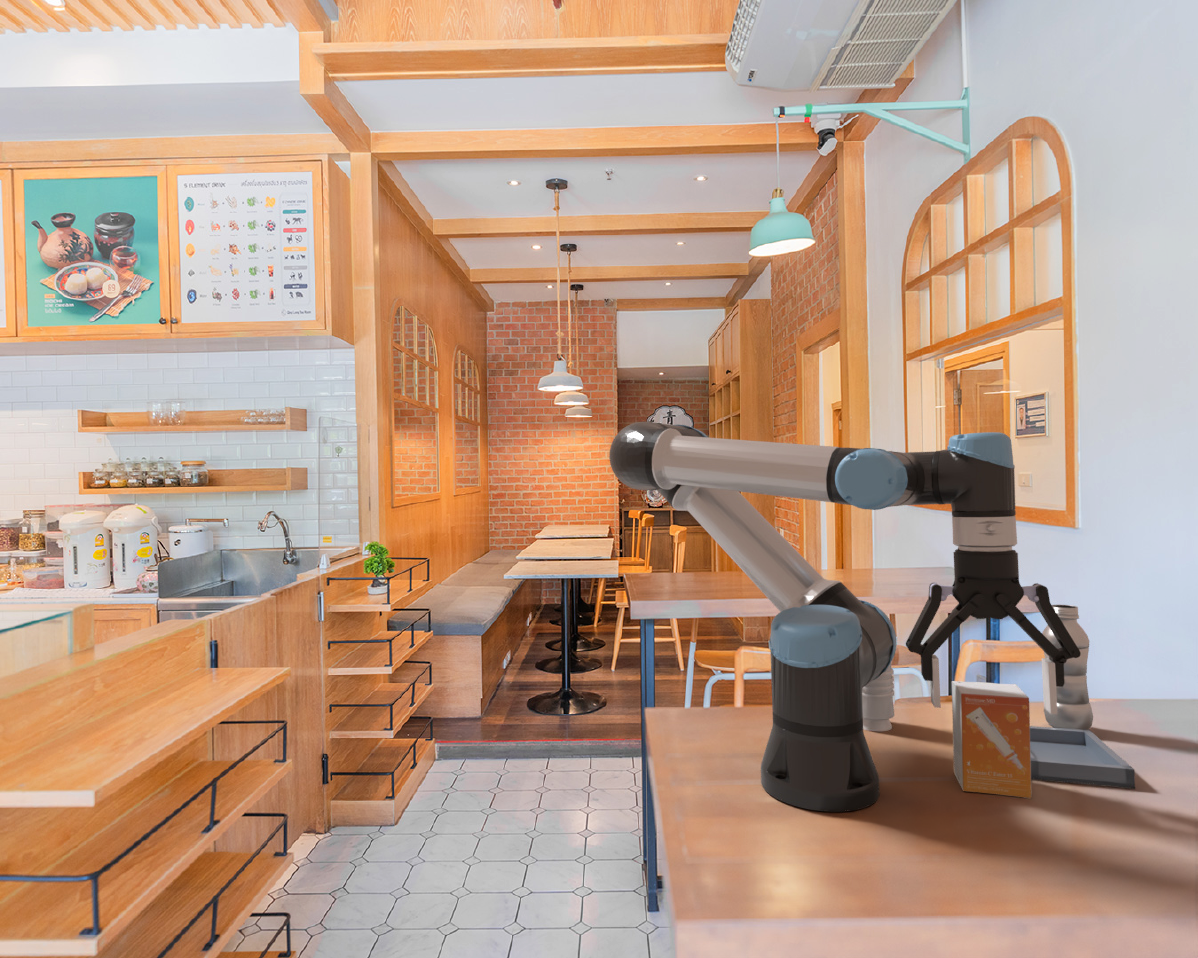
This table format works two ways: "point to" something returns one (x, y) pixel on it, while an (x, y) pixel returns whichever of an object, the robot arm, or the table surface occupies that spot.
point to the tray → (1076, 758)
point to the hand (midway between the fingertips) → (991, 707)
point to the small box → (991, 738)
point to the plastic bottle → (1071, 676)
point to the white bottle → (878, 702)
